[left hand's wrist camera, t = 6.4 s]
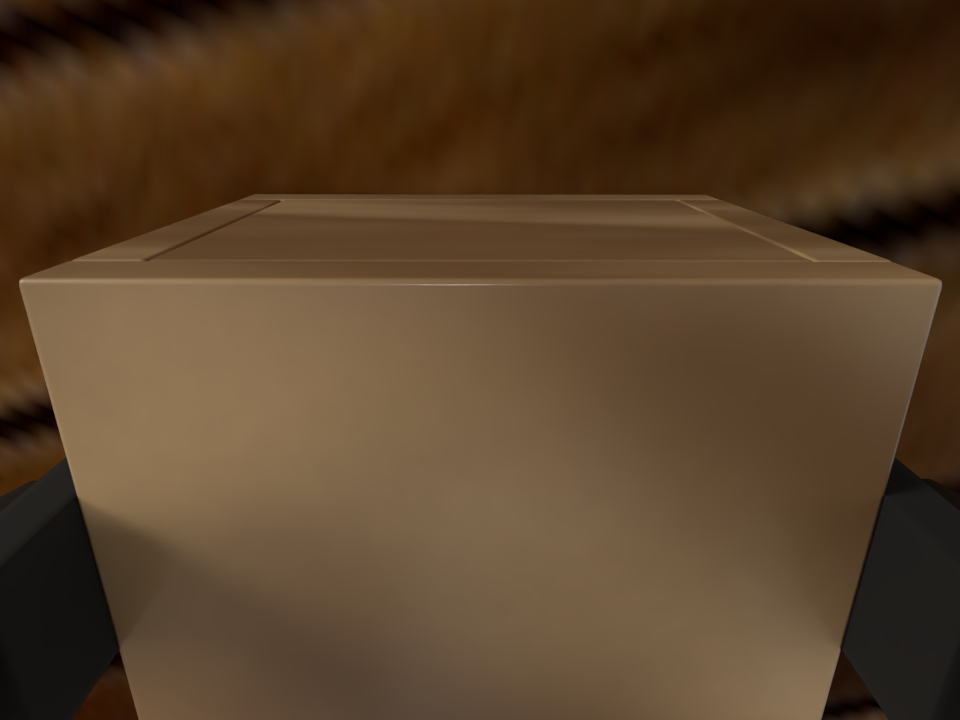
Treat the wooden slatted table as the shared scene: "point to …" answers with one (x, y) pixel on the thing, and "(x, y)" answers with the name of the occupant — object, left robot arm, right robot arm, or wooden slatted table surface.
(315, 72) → the wooden slatted table surface
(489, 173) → the wooden slatted table surface
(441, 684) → the cabinet
